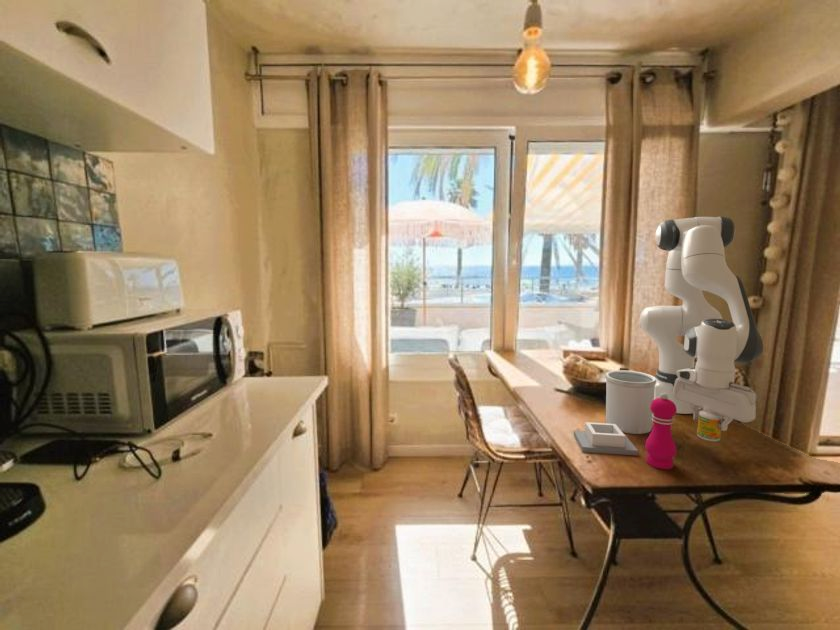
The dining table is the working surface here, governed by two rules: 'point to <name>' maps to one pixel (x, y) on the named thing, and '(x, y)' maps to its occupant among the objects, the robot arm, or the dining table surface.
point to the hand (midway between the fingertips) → (709, 424)
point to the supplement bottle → (709, 424)
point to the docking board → (604, 439)
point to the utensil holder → (630, 400)
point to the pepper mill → (661, 434)
